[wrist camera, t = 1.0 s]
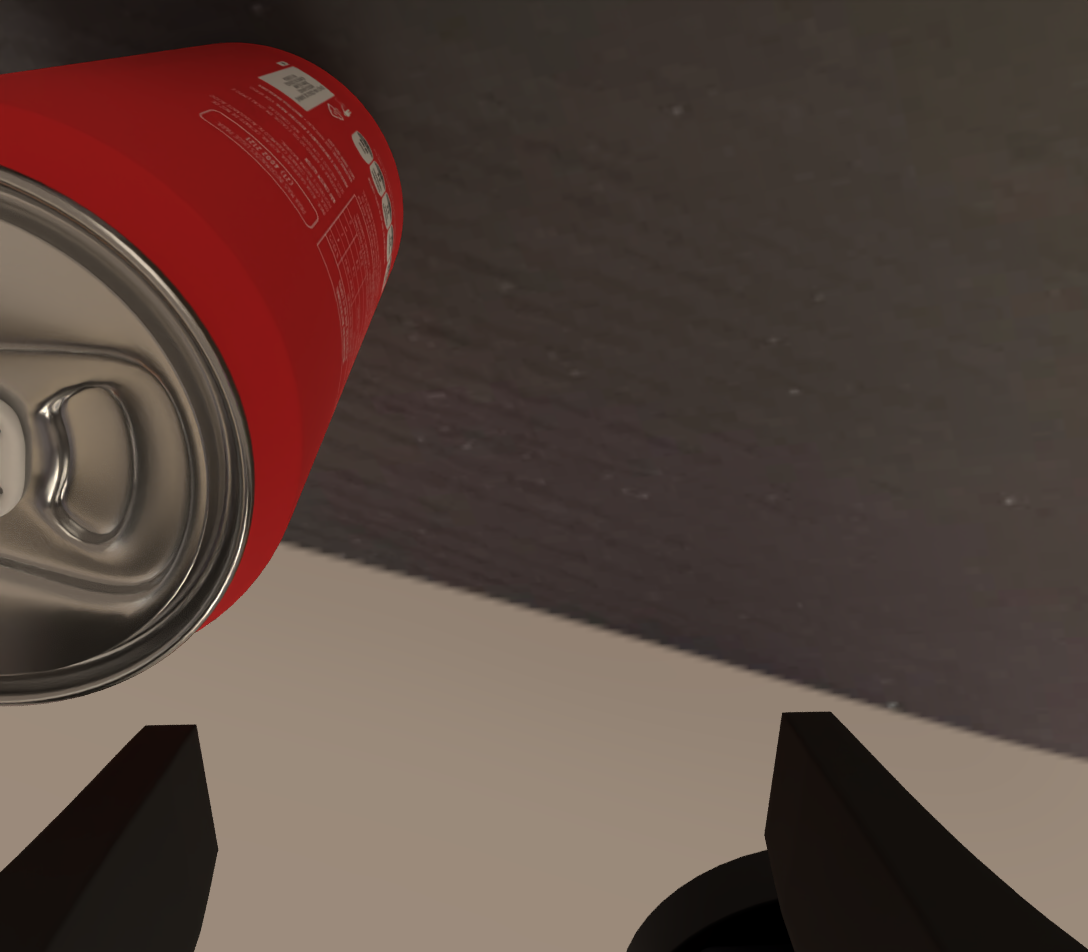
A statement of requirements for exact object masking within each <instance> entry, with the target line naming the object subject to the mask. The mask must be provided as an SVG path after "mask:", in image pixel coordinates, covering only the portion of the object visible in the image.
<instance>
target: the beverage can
mask: <svg viewBox="0 0 1088 952" xmlns="http://www.w3.org/2000/svg"><path fill="white" fill-rule="evenodd" d="M402 226H403V197H402V190H401V184H400V179H399V174H398V171H397V167H396V164H395V161H394V158H393V155H392V153H391V150H390V148H389V146H388V144H387V141H386V139H385V137H384V135H383V134H382V132H381V130H380V128H379V127H378V125H377V124H376V122H375V120H374V119H373V117H372V116H371V115H370V113H369V112H368V111H367V109H366V108H365V107H364V106H363V104H362V103H361V102H360V101H359V100H358V99H357V98H356V97H355V95H353V94H352V93H351V92H350V91H349V90H348V89H347V88H346V87H345V86H344V85H343V84H342V83H340V82H339V81H338V80H337V79H336V78H334V77H333V76H332V75H330V74H329V73H327V72H326V71H325V70H323V69H321V68H320V67H318V66H316V65H315V64H313V63H311V62H309V61H307V60H305V59H303V58H301V57H299V56H296V55H294V54H292V53H289V52H286V51H283V50H280V49H277V48H273V47H269V46H264V45H258V44H252V43H217V44H208V45H201V46H194V47H187V48H181V49H174V50H167V51H160V52H153V53H146V54H139V55H132V56H125V57H118V58H111V59H105V60H98V61H91V62H84V63H77V64H70V65H63V66H56V67H49V68H42V69H35V70H28V71H22V72H15V73H8V74H1V75H0V706H24V705H34V704H44V703H51V702H57V701H63V700H67V699H72V698H76V697H80V696H84V695H88V694H91V693H94V692H97V691H101V690H103V689H106V688H109V687H111V686H114V685H116V684H119V683H121V682H123V681H125V680H128V679H129V678H132V677H134V676H136V675H138V674H140V673H142V672H143V671H145V670H147V669H148V668H150V667H152V666H154V665H155V664H157V663H158V662H160V661H161V660H163V659H164V658H165V657H167V656H168V655H170V654H171V653H173V652H174V651H175V650H176V649H177V648H179V647H180V646H181V645H182V644H183V643H185V642H186V641H187V640H188V639H189V638H190V637H191V636H192V635H193V634H194V633H195V632H197V631H199V630H200V629H202V628H203V627H205V626H206V625H208V624H209V623H210V622H212V621H213V620H215V619H216V618H217V617H219V616H220V615H221V614H222V613H223V612H224V611H226V610H227V609H228V608H229V607H231V606H232V605H233V604H234V603H235V602H236V601H237V600H238V599H239V598H240V597H241V596H242V595H243V594H244V593H245V592H246V591H247V589H248V588H249V587H250V586H251V585H252V584H253V582H254V581H255V580H256V579H257V578H258V576H259V575H260V574H261V572H262V570H263V569H264V568H265V566H266V565H267V564H268V562H269V561H270V559H271V557H272V556H273V554H274V552H275V550H276V549H277V547H278V545H279V543H280V541H281V539H282V537H283V535H284V533H285V530H286V528H287V526H288V524H289V522H290V519H291V517H292V514H293V512H294V509H295V507H296V504H297V502H298V499H299V497H300V494H301V492H302V490H303V487H304V485H305V482H306V480H307V477H308V475H309V472H310V470H311V467H312V465H313V462H314V460H315V457H316V455H317V453H318V450H319V448H320V445H321V443H322V440H323V438H324V435H325V433H326V430H327V428H328V425H329V423H330V420H331V418H332V416H333V413H334V411H335V408H336V406H337V403H338V401H339V398H340V396H341V393H342V391H343V388H344V386H345V383H346V381H347V378H348V376H349V374H350V371H351V369H352V366H353V364H354V361H355V359H356V356H357V354H358V351H359V349H360V346H361V344H362V341H363V339H364V337H365V334H366V332H367V329H368V327H369V324H370V322H371V319H372V317H373V314H374V312H375V309H376V307H377V304H378V302H379V300H380V297H381V295H382V292H383V290H384V287H385V285H386V282H387V280H388V277H389V275H390V272H391V270H392V267H393V265H394V262H395V259H396V256H397V253H398V249H399V245H400V240H401V235H402Z"/></svg>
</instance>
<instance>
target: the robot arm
mask: <svg viewBox="0 0 1088 952" xmlns="http://www.w3.org/2000/svg"><path fill="white" fill-rule="evenodd" d="M764 836H765V840H766V845H767V850H768V854H769V859H770V864H771V869H772V873H773V878H774V882H775V887H776V891H777V895H778V899H779V904H780V908H781V912H782V916H783V919H784V922H785V925H786V928H787V930H788V933H789V936H790V939H791V942H792V944H774V945H741V946H712V947H707V948H705V949H703V950H702V951H701V952H1088V949H1087V948H1086V947H1084V946H1083V945H1082V944H1080V943H1079V942H1078V941H1076V940H1075V939H1074V938H1073V937H1071V936H1070V935H1069V934H1067V933H1066V932H1065V931H1063V930H1062V929H1061V928H1060V927H1058V926H1057V925H1056V924H1054V923H1053V922H1052V921H1050V920H1049V919H1048V918H1046V917H1045V916H1044V915H1043V914H1042V913H1040V912H1039V911H1038V910H1037V909H1036V908H1034V907H1033V906H1032V905H1030V904H1029V903H1028V902H1027V901H1026V900H1024V899H1023V898H1022V897H1021V896H1020V895H1019V894H1017V893H1016V892H1015V891H1014V890H1013V889H1012V888H1011V887H1009V886H1008V885H1007V884H1006V883H1005V882H1004V881H1002V880H1001V879H1000V878H999V877H998V876H997V875H995V873H993V872H992V871H991V870H990V869H989V868H988V867H987V866H985V865H984V864H983V863H982V862H981V861H980V860H978V859H977V858H976V857H975V856H974V855H973V854H972V853H971V852H970V851H968V849H966V848H965V847H964V846H963V845H962V844H961V843H960V842H959V841H958V840H957V839H956V838H955V837H954V836H953V835H952V834H950V833H949V832H948V831H947V830H946V829H945V828H944V827H943V826H942V825H941V824H940V823H939V822H938V821H937V820H936V819H935V818H934V817H933V816H932V815H931V814H930V813H929V812H928V811H927V810H926V809H925V808H924V807H923V806H922V805H921V804H920V803H919V802H918V801H917V800H916V799H915V798H914V797H913V796H912V795H911V794H909V792H908V791H907V790H906V789H905V788H904V787H903V786H902V785H901V784H900V783H899V782H898V781H897V780H896V779H895V778H894V777H893V776H892V775H891V774H890V773H889V772H888V771H887V770H886V769H885V768H884V767H883V766H882V764H881V763H880V762H879V761H878V760H877V759H876V758H875V757H874V756H873V755H872V754H871V753H870V752H869V751H868V750H867V749H866V748H865V747H864V746H863V745H862V744H861V743H860V741H859V740H858V739H857V738H855V736H854V735H853V734H852V733H851V732H850V731H849V730H848V729H847V728H846V727H845V726H844V725H843V724H842V723H841V722H840V721H839V720H838V719H837V718H836V717H835V716H834V715H833V714H832V713H831V712H788V713H787V712H786V713H782V718H781V725H780V732H779V739H778V745H777V752H776V759H775V766H774V773H773V779H772V786H771V793H770V800H769V807H768V814H767V820H766V827H765V835H764ZM217 852H218V845H217V840H216V834H215V828H214V823H213V817H212V812H211V806H210V800H209V794H208V789H207V783H206V777H205V772H204V766H203V760H202V754H201V749H200V743H199V738H198V731H197V726H196V725H148V726H145V727H144V728H143V729H141V730H140V731H139V732H138V733H137V734H136V735H135V736H134V737H133V738H132V739H131V741H129V742H128V743H127V745H125V747H123V749H122V750H121V751H120V752H119V753H118V754H117V755H116V756H115V757H114V758H113V759H112V760H111V761H110V762H109V763H108V764H107V765H106V766H105V768H103V769H102V771H101V772H100V773H99V774H98V775H97V776H96V777H95V778H94V779H93V780H92V781H91V782H90V783H89V784H88V785H87V786H86V787H85V788H84V789H83V790H82V791H81V792H80V793H79V794H78V796H77V797H76V798H75V799H74V800H73V801H72V802H71V803H70V804H69V805H68V806H67V807H66V808H65V809H64V810H63V811H62V812H61V813H60V814H59V815H58V816H57V817H56V818H55V819H54V820H53V821H52V822H51V823H50V824H49V825H48V826H47V827H46V828H45V829H44V830H43V831H42V832H41V833H40V834H39V835H38V836H37V837H36V838H35V839H34V840H33V841H32V842H31V843H30V844H29V845H28V846H27V847H26V848H25V849H24V850H23V851H22V852H21V853H20V854H19V855H18V856H17V857H16V858H15V859H14V860H13V861H12V862H11V863H10V864H9V865H7V866H6V867H5V868H4V869H3V870H2V871H1V872H0V952H194V950H195V947H196V944H197V941H198V938H199V934H200V931H201V927H202V923H203V918H204V914H205V910H206V905H207V901H208V896H209V892H210V887H211V882H212V877H213V872H214V867H215V862H216V857H217Z"/></svg>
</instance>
